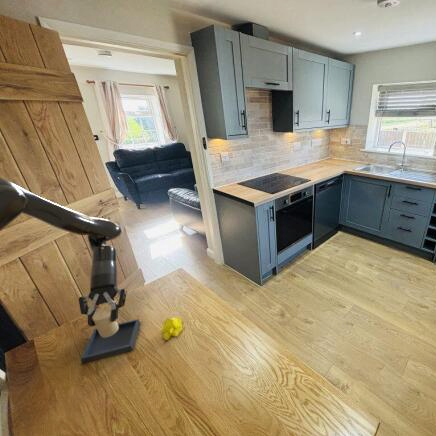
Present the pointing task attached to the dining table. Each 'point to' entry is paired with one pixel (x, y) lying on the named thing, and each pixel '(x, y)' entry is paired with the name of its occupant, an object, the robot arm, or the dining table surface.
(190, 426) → the dining table surface
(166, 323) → the crumpled paper
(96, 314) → the candle
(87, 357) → the tray
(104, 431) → the dining table surface
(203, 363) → the dining table surface
